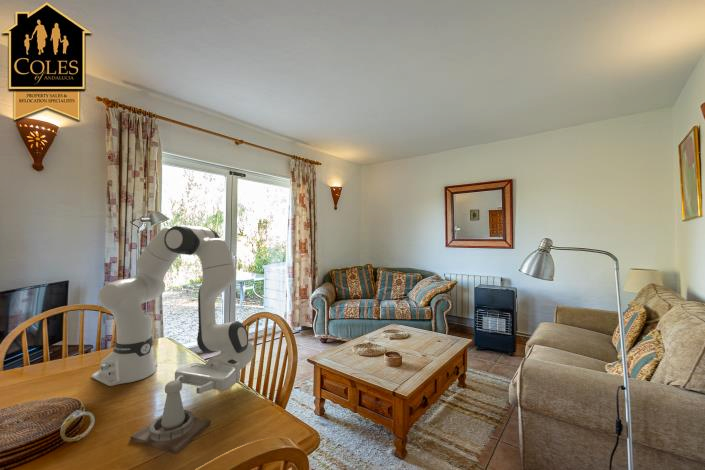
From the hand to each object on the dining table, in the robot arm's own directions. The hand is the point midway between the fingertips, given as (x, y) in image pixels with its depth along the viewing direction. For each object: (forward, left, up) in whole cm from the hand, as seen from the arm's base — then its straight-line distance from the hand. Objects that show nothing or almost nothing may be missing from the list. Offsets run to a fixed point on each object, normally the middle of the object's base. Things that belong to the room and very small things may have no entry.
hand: (185, 388), depth 89 cm
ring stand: (0, -5, -10) cm, 11 cm away
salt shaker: (0, -5, -9) cm, 10 cm away
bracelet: (-22, -15, -10) cm, 28 cm away
